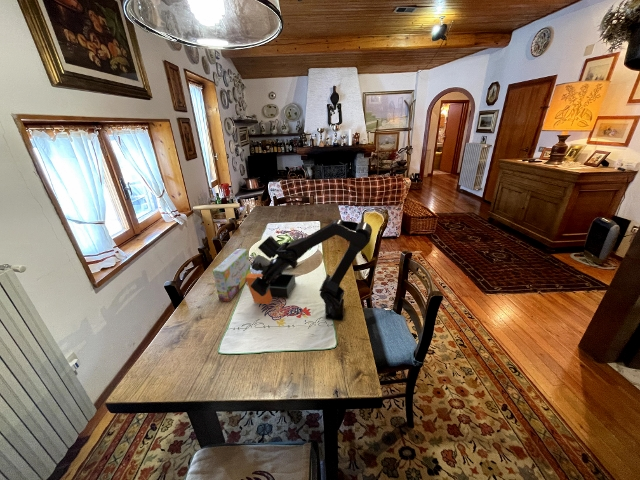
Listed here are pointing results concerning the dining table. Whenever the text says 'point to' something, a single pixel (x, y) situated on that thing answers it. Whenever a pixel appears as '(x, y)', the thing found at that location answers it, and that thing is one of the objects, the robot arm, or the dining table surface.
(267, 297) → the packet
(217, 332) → the dining table surface
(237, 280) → the snack box
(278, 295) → the black square tray
